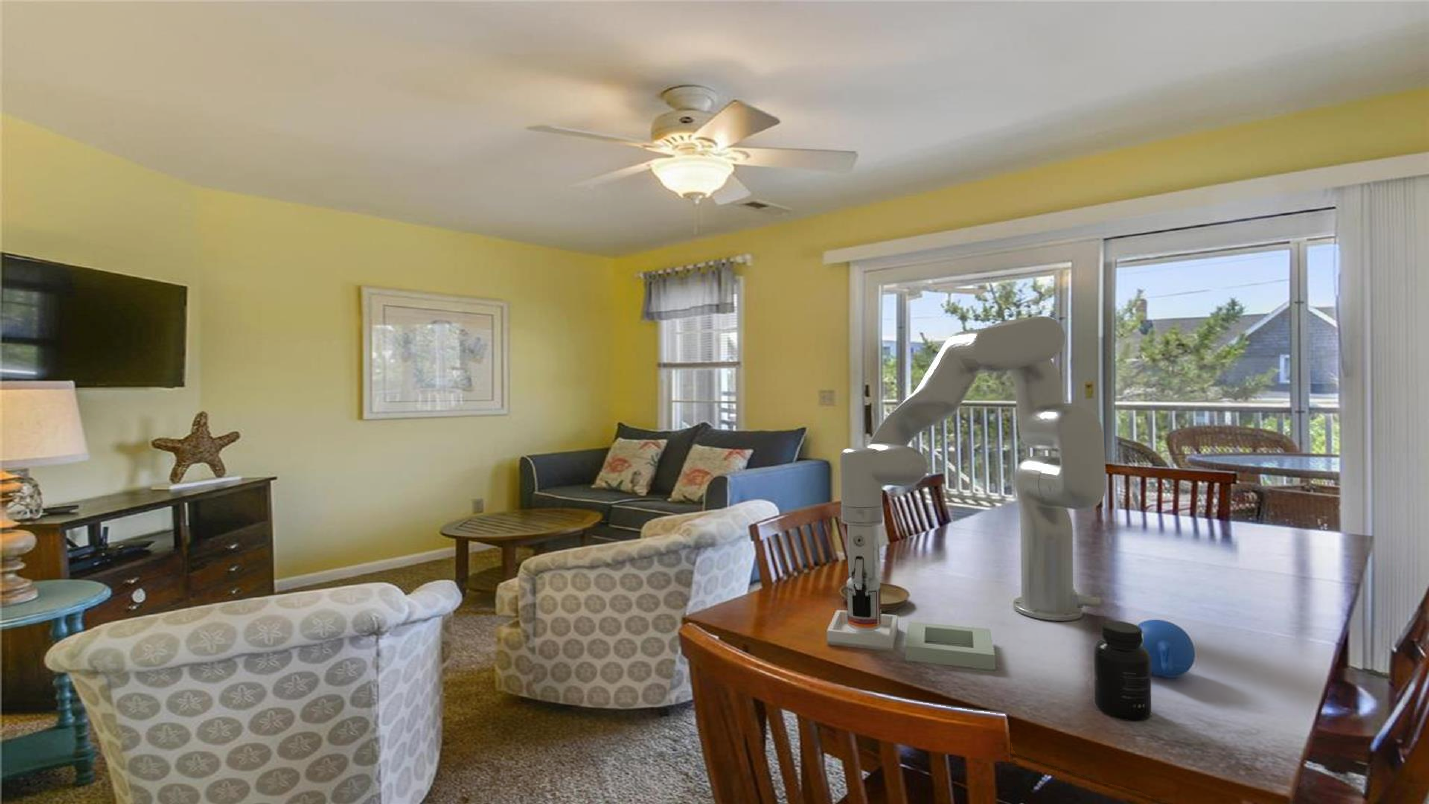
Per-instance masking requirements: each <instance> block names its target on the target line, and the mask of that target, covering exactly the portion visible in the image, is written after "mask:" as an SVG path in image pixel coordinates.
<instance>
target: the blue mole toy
mask: <svg viewBox="0 0 1429 804" xmlns="http://www.w3.org/2000/svg"><path fill="white" fill-rule="evenodd" d="M1136 626H1138V627H1140V628H1141V629H1142V639H1143V643H1142V644H1141V646H1143V647H1144V648H1145V649H1146V650H1147V651H1148V652H1149V654H1150V657H1151V675H1152V674H1153V675H1155V676H1159V677H1162V678H1176V677H1179V676H1182V675H1185V674H1186V673H1188V672H1189V671H1190V670H1191V668H1192V667H1193V664H1194V663H1195V657H1196V653H1195V646H1194V643H1193V641H1192V639H1191V637H1190V636H1189V634H1188V633H1187V632H1186V631H1185V630H1184V629H1183V628H1181V627H1180V626H1179V625H1177V624H1175V623H1174V622H1170V621H1168V620H1163V619H1148V620H1144V621H1142V622H1140V623H1138V624H1137V625H1136Z"/></svg>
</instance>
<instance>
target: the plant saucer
mask: <svg viewBox="0 0 1429 804" xmlns="http://www.w3.org/2000/svg"><path fill="white" fill-rule="evenodd" d="M880 591H881V612H890V611H895V610H898V609H899V608H901V607H902V606H903V605H904V604H905V603H906V602H907V601H908V600H909V598H910V596H911V593H910V591H908V589H906V588H904V587H902V586H899V585H895V584H892V583H886V582H880ZM839 594H840V595H841V596H842V598H843V599H844V601H846V602H847V584H845V585H844V586H841V588H839Z"/></svg>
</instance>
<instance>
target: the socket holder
mask: <svg viewBox="0 0 1429 804" xmlns="http://www.w3.org/2000/svg"><path fill="white" fill-rule="evenodd" d="M926 641H928V642H937V643H948V644H956V645H965V646H972V647H964V646H955V645H946V644H937V643H927V642H926ZM904 643H905V644H904V652H905V653H904V655H905V656H904V657H905V658H904V660H905V661H910V662H918V663H926V664H927V663H928V664H936V665H947V666H953V667H962V668H969V669H970V668H973V669H979V670H989V671H996V654H995V649H994V643H993V639H992V633H991V629H990V628H983V627H981V628H980V627H973V626H961V625H960V626H959V625H952V624H951V625H949V624H939V623H928V622H927V623H926V622H919V621H918V622H917V621H908V625H907V630H906V637H905V642H904Z"/></svg>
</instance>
